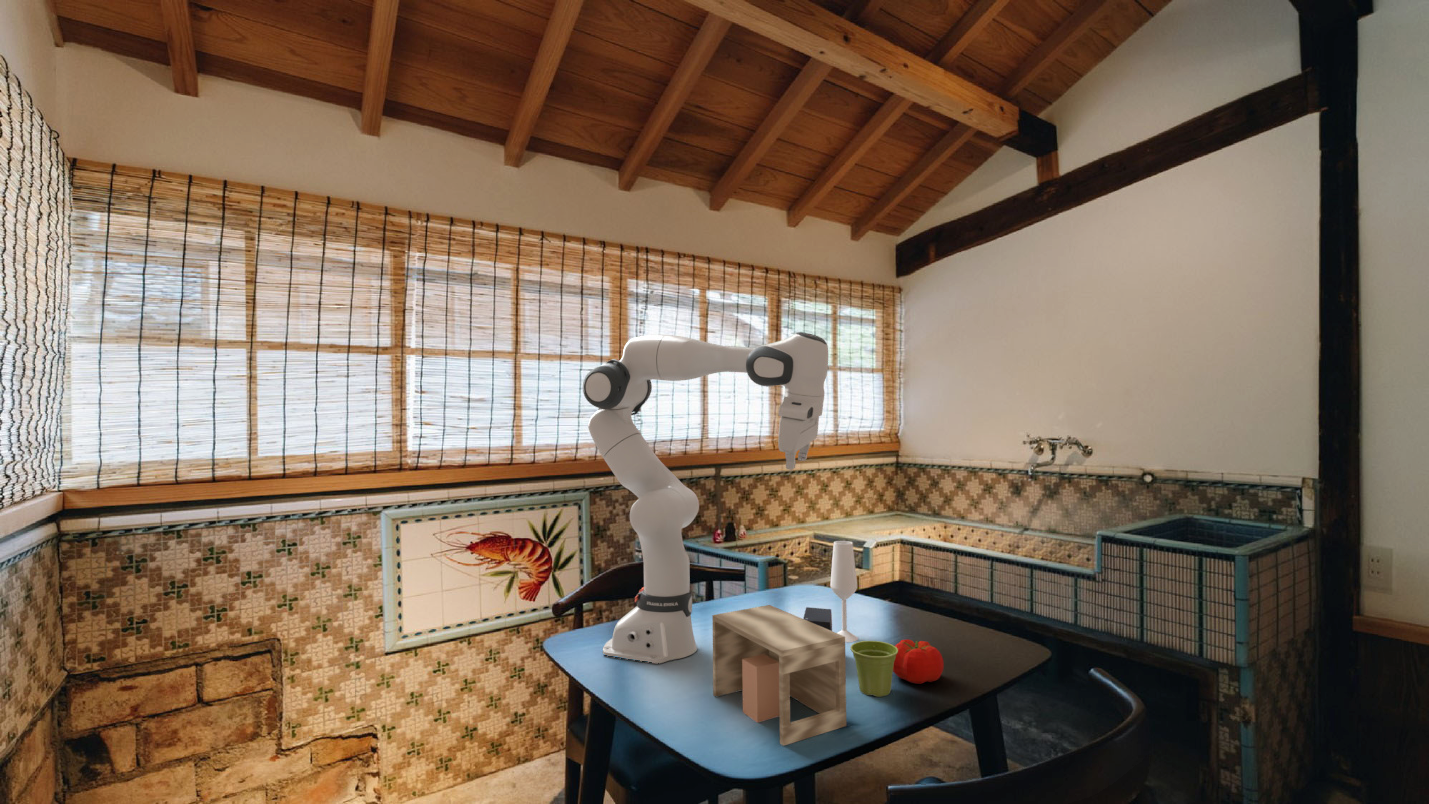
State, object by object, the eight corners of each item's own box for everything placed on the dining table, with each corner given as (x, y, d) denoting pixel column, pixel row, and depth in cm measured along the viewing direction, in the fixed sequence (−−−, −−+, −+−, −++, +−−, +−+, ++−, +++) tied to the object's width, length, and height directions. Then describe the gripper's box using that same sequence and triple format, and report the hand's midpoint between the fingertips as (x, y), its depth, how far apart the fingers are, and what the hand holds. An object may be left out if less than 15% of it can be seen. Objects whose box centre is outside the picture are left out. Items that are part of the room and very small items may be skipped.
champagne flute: (857, 634, 169) (856, 540, 170) (858, 642, 162) (857, 545, 163) (831, 632, 170) (829, 539, 171) (831, 641, 164) (829, 544, 164)
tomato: (954, 685, 136) (953, 649, 137) (908, 692, 133) (907, 654, 133) (924, 667, 147) (923, 633, 147) (880, 672, 143) (879, 638, 144)
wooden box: (783, 745, 112) (782, 650, 112) (713, 695, 133) (712, 615, 133) (846, 725, 119) (845, 636, 119) (770, 680, 140) (769, 604, 140)
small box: (831, 668, 146) (831, 621, 146) (802, 667, 147) (801, 619, 148) (833, 652, 156) (832, 607, 157) (805, 650, 158) (804, 606, 158)
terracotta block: (757, 722, 120) (756, 667, 121) (742, 712, 125) (742, 659, 125) (779, 716, 123) (779, 662, 123) (764, 706, 127) (764, 654, 128)
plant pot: (870, 704, 128) (869, 659, 128) (842, 686, 136) (841, 644, 136) (908, 696, 131) (907, 652, 132) (879, 679, 140) (878, 638, 140)
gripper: (802, 398, 159) (795, 453, 162) (776, 409, 141) (769, 471, 143) (827, 401, 157) (820, 457, 159) (804, 413, 138) (797, 477, 141)
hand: (796, 464), depth 151 cm, fingers open, 8 cm apart
